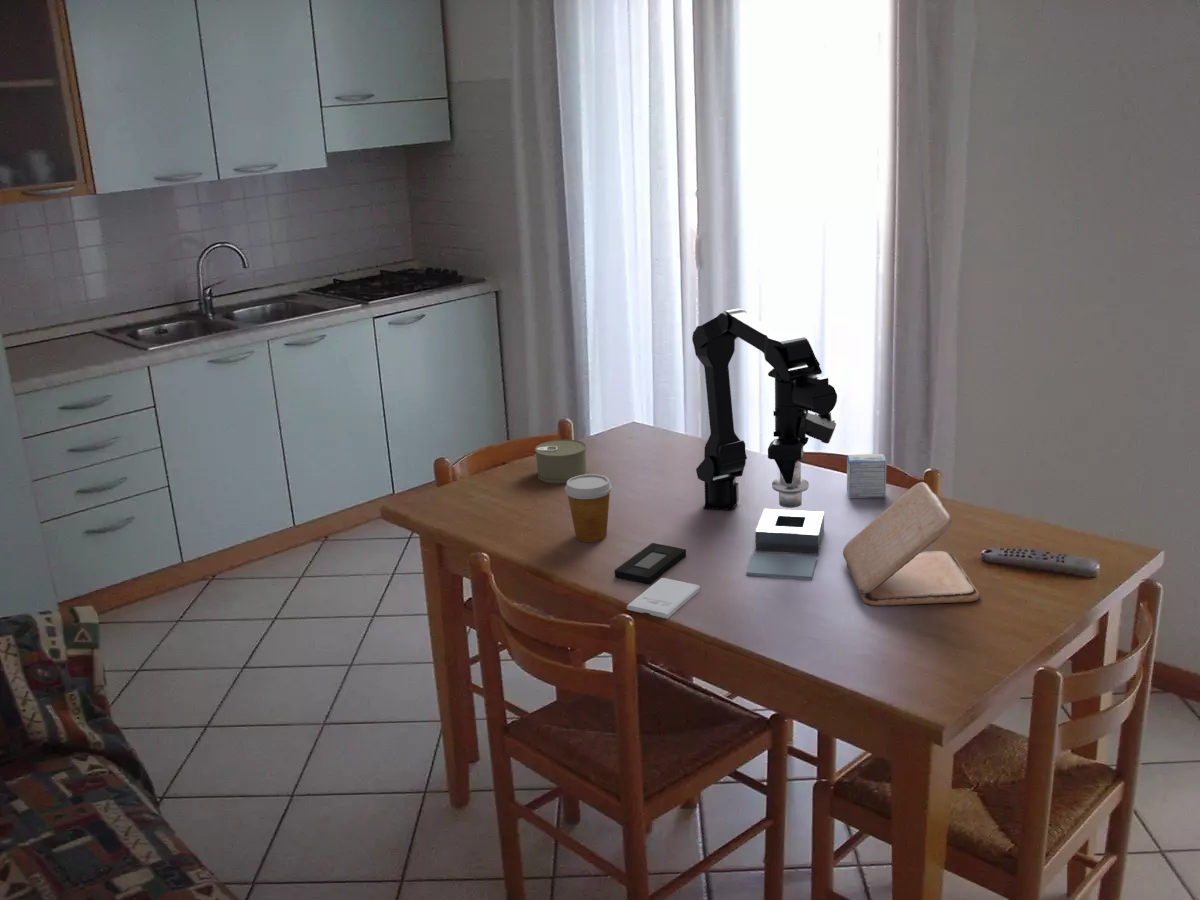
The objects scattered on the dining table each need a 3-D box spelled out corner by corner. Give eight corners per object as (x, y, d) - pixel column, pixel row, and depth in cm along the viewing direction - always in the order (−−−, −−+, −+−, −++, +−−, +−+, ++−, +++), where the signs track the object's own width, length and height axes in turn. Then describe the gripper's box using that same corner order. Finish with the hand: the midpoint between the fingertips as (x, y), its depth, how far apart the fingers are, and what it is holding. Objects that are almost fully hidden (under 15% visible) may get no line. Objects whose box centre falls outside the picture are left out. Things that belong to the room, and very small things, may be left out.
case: (840, 560, 217) (841, 481, 212) (952, 555, 216) (956, 476, 211) (860, 610, 198) (861, 524, 193) (983, 605, 197) (988, 519, 192)
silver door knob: (770, 509, 222) (769, 469, 219) (774, 496, 228) (774, 457, 226) (806, 511, 220) (806, 470, 217) (810, 498, 226) (810, 458, 224)
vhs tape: (614, 580, 215) (614, 570, 214) (652, 552, 226) (652, 542, 226) (649, 587, 211) (648, 577, 210) (686, 558, 222) (685, 549, 222)
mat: (746, 575, 213) (746, 572, 212) (753, 555, 221) (753, 552, 221) (811, 579, 209) (811, 576, 209) (816, 559, 217) (816, 556, 217)
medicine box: (883, 491, 249) (884, 453, 247) (886, 498, 245) (887, 460, 242) (846, 491, 250) (846, 454, 247) (848, 499, 246) (849, 461, 243)
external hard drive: (700, 593, 208) (667, 621, 198) (661, 585, 212) (626, 612, 202) (700, 585, 207) (667, 613, 197) (660, 577, 212) (626, 603, 202)
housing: (755, 550, 223) (755, 531, 222) (764, 526, 234) (764, 508, 233) (818, 554, 220) (818, 535, 218) (823, 530, 231) (824, 511, 229)
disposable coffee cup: (621, 530, 236) (619, 475, 232) (602, 548, 228) (599, 491, 224) (580, 525, 240) (576, 471, 236) (560, 542, 232) (556, 487, 228)
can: (587, 482, 265) (585, 454, 263) (535, 485, 265) (533, 457, 263) (588, 465, 276) (586, 438, 274) (538, 467, 276) (536, 440, 274)
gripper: (828, 418, 207) (828, 498, 212) (837, 390, 224) (836, 465, 229) (767, 416, 210) (767, 496, 215) (780, 389, 227) (780, 463, 232)
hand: (790, 479), depth 223 cm, fingers closed on silver door knob, 4 cm apart
